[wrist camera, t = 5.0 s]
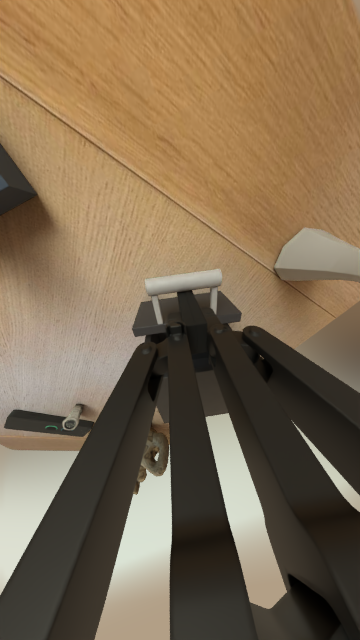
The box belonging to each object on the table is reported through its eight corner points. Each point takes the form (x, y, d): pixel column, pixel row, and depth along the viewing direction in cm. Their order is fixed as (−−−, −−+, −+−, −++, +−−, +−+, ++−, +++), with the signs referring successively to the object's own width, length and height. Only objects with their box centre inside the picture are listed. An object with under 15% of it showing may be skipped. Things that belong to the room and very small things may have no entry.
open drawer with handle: (130, 267, 17) (112, 286, 11) (222, 255, 18) (253, 266, 12) (159, 362, 28) (157, 397, 22) (216, 354, 28) (229, 386, 22)
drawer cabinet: (150, 339, 26) (144, 380, 18) (219, 329, 26) (239, 366, 19) (164, 383, 34) (164, 423, 27) (215, 375, 34) (228, 413, 27)
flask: (264, 270, 20) (333, 296, 12) (303, 216, 17) (440, 198, 8) (294, 287, 22) (372, 319, 14) (335, 242, 19) (469, 248, 11)
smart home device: (82, 437, 44) (3, 429, 35) (85, 431, 45) (9, 421, 37) (92, 428, 40) (6, 416, 32) (94, 421, 42) (13, 409, 34)
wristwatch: (86, 403, 36) (76, 425, 31) (85, 413, 38) (75, 435, 34) (71, 401, 34) (58, 424, 30) (71, 412, 37) (59, 434, 33)
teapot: (135, 438, 53) (126, 500, 41) (111, 432, 47) (92, 502, 35) (176, 419, 47) (181, 486, 35) (154, 410, 42) (150, 486, 29)
